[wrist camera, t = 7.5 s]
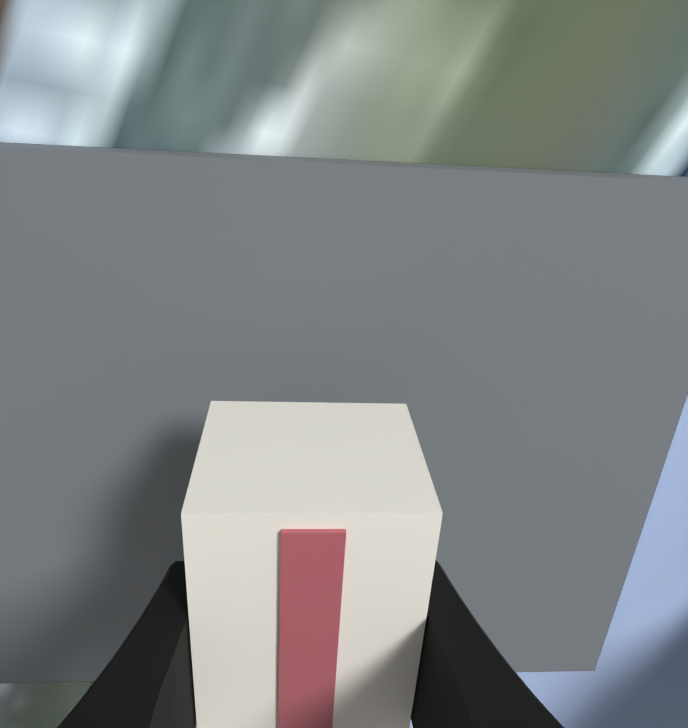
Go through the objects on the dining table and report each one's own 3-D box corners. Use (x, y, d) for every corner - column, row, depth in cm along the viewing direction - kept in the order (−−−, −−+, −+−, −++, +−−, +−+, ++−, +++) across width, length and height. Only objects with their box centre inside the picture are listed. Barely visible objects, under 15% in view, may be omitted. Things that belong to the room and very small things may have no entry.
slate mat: (735, 179, 14) (758, 184, 14) (584, 650, 21) (594, 670, 20) (-159, 134, 13) (-186, 138, 12) (-11, 661, 20) (-23, 683, 19)
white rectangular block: (379, 641, 16) (400, 790, 12) (221, 645, 15) (200, 799, 12) (406, 403, 13) (444, 517, 9) (211, 400, 12) (179, 518, 9)
